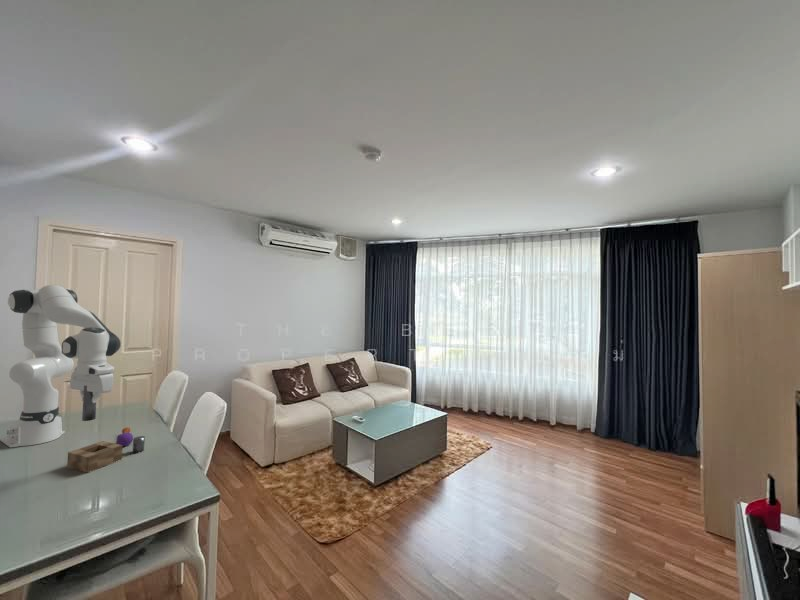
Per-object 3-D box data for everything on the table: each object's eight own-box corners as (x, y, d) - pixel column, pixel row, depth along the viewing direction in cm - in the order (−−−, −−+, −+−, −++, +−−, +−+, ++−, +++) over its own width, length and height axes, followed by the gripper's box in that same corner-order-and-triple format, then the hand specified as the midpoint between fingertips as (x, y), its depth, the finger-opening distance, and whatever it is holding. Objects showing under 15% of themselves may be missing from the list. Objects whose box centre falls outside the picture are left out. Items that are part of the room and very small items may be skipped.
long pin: (79, 420, 130) (81, 385, 131) (91, 417, 134) (93, 383, 135) (86, 421, 129) (88, 386, 130) (98, 418, 133) (99, 384, 134)
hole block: (66, 467, 129) (68, 452, 129) (102, 455, 141) (102, 441, 141) (87, 473, 126) (88, 457, 126) (121, 459, 137) (122, 445, 137)
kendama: (135, 424, 166) (134, 434, 151) (131, 436, 165) (130, 447, 150) (120, 424, 163) (118, 434, 147) (116, 437, 162) (114, 448, 146)
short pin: (130, 452, 144) (131, 438, 144) (139, 448, 148) (140, 435, 148) (136, 453, 143) (137, 440, 143) (146, 450, 147) (147, 436, 147)
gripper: (65, 366, 132) (63, 401, 132) (99, 371, 126) (97, 406, 126) (84, 364, 139) (82, 397, 138) (117, 368, 132) (115, 402, 132)
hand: (89, 401), depth 132 cm, fingers closed on long pin, 4 cm apart
